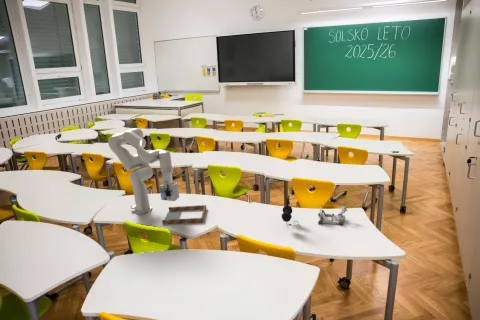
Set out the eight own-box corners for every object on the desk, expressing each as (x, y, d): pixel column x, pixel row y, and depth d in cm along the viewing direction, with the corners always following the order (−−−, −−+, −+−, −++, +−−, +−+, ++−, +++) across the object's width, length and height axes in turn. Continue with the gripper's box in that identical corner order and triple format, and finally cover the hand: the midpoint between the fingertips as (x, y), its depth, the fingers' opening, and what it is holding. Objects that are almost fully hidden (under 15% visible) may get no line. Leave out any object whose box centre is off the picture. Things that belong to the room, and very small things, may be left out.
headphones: (300, 232, 203) (299, 201, 197) (281, 231, 206) (280, 201, 200) (300, 220, 217) (300, 191, 212) (283, 219, 220) (282, 191, 214)
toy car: (347, 203, 215) (348, 211, 204) (346, 217, 218) (348, 226, 207) (318, 202, 219) (318, 210, 209) (318, 216, 222) (318, 224, 211)
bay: (162, 224, 224) (161, 220, 223) (168, 210, 244) (168, 207, 243) (203, 222, 223) (202, 218, 222) (206, 208, 243) (206, 205, 243)
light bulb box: (161, 200, 228) (158, 185, 225) (166, 196, 235) (164, 181, 231) (174, 201, 225) (172, 186, 222) (179, 197, 231) (177, 182, 228)
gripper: (163, 165, 232) (167, 189, 237) (157, 173, 215) (161, 199, 220) (174, 164, 232) (177, 188, 237) (169, 173, 215) (172, 198, 220)
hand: (169, 193), depth 229 cm, fingers closed on light bulb box, 8 cm apart
